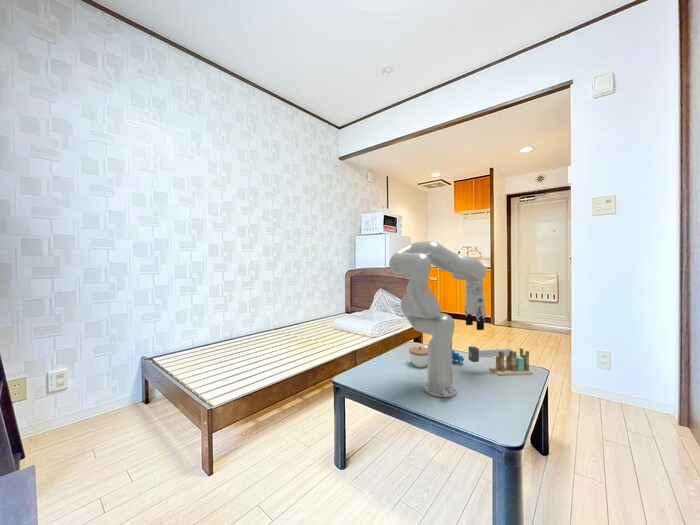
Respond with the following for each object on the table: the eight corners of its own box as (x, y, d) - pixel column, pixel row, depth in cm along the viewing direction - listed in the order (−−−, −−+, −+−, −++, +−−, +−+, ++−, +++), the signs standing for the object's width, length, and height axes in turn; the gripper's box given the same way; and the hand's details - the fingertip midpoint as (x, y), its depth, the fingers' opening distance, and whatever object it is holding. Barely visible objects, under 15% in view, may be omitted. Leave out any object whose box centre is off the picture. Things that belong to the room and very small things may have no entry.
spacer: (524, 371, 132) (524, 358, 132) (518, 371, 132) (518, 358, 132) (517, 366, 138) (517, 354, 137) (512, 366, 138) (512, 354, 138)
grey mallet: (514, 360, 133) (513, 347, 132) (472, 362, 131) (472, 349, 131) (509, 357, 136) (509, 345, 136) (468, 359, 134) (468, 346, 134)
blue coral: (468, 361, 144) (457, 349, 142) (464, 371, 142) (452, 359, 139) (451, 357, 154) (440, 346, 151) (446, 367, 151) (435, 356, 149)
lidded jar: (408, 368, 141) (408, 349, 140) (410, 360, 151) (410, 342, 151) (430, 370, 137) (430, 350, 137) (431, 362, 148) (431, 344, 148)
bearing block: (532, 374, 131) (532, 352, 131) (499, 375, 130) (498, 353, 130) (520, 367, 139) (520, 347, 139) (489, 369, 138) (488, 348, 138)
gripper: (493, 292, 124) (493, 331, 124) (472, 288, 141) (472, 323, 141) (476, 292, 124) (476, 332, 124) (458, 288, 141) (458, 323, 141)
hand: (474, 327), depth 133 cm, fingers open, 9 cm apart
